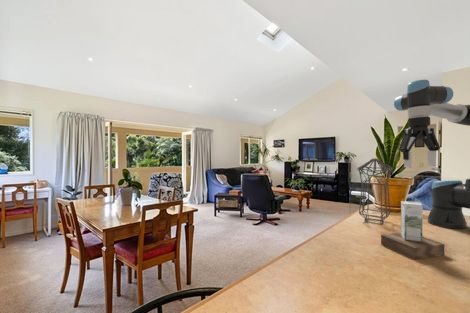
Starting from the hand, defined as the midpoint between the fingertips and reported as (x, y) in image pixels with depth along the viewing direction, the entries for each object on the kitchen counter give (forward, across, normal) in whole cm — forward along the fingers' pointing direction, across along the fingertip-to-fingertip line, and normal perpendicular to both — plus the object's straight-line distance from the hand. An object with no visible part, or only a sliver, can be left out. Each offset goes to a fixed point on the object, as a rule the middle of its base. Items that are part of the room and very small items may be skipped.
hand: (420, 166), depth 100 cm
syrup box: (+28, +14, +7) cm, 32 cm away
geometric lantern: (+32, -2, -26) cm, 41 cm away
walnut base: (+31, +15, +7) cm, 35 cm away
